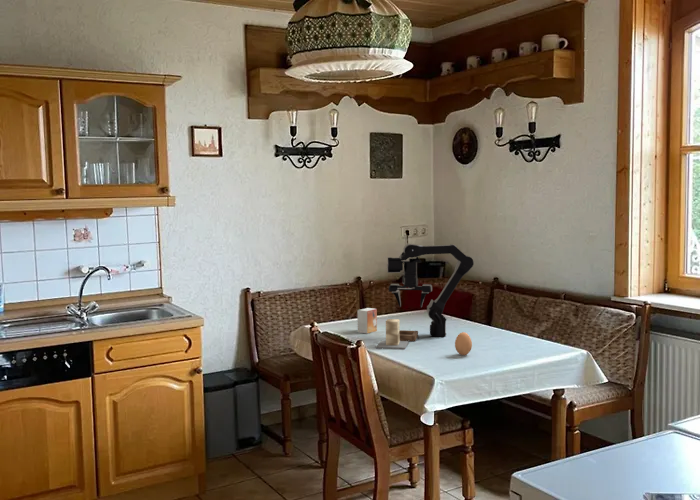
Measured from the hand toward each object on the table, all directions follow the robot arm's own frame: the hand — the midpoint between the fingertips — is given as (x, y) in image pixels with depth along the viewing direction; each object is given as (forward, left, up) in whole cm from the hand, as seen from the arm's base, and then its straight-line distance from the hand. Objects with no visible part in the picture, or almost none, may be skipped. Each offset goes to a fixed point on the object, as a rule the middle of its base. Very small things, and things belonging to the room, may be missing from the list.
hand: (410, 307), depth 318 cm
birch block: (+5, +20, -12) cm, 24 cm away
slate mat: (+5, +20, -13) cm, 24 cm away
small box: (+21, -7, -13) cm, 26 cm away
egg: (-25, +32, -13) cm, 43 cm away
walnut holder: (+2, +5, -13) cm, 14 cm away
